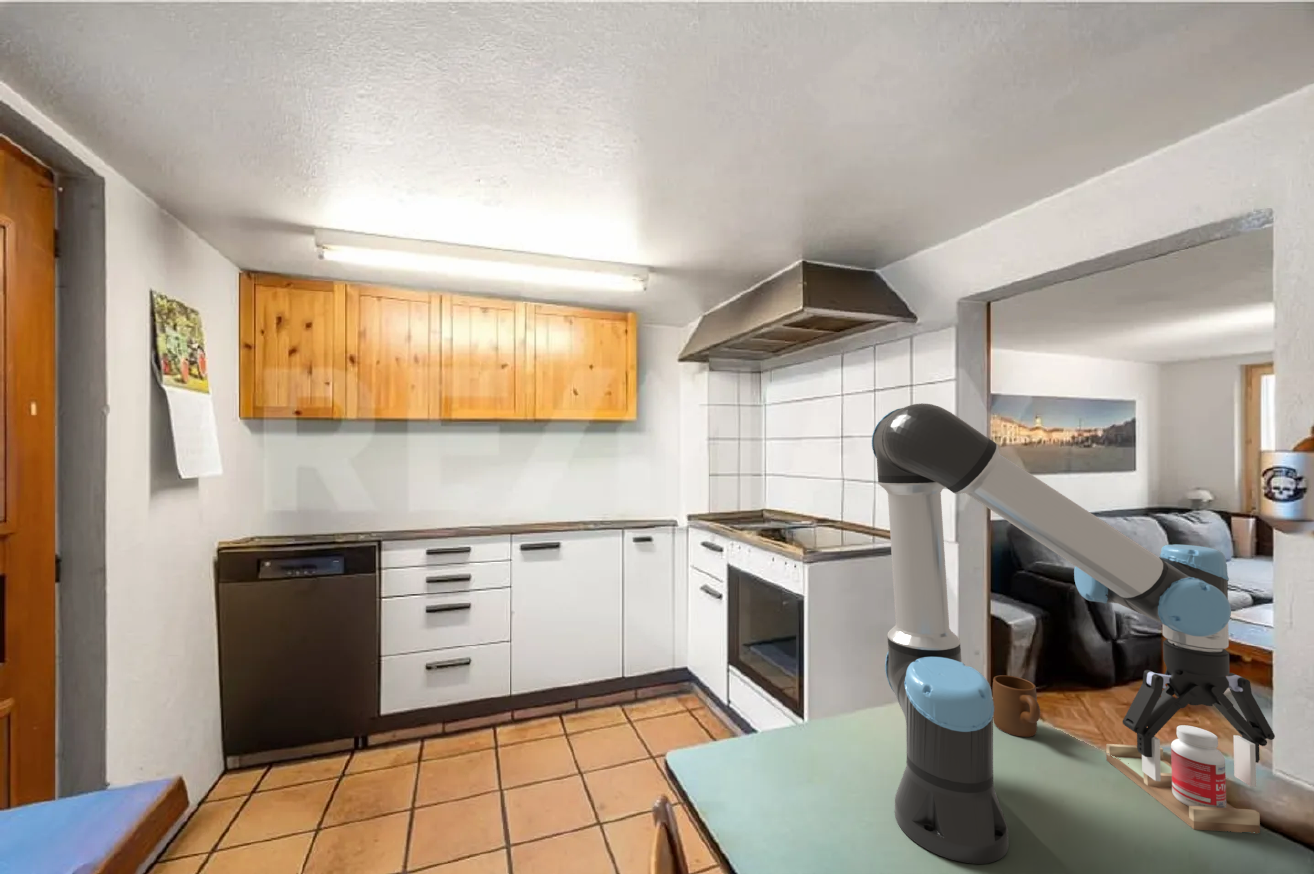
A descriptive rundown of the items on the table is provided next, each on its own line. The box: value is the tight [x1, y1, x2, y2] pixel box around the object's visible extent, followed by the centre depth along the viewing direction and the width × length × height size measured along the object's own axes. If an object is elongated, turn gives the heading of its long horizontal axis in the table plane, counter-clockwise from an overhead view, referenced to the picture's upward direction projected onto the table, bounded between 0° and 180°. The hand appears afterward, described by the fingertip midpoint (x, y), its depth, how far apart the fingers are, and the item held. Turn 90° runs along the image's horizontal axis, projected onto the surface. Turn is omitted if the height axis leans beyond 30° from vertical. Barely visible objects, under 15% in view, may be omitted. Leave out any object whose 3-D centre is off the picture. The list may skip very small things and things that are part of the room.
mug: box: [992, 674, 1041, 738], centre depth 110 cm, size 12×8×9 cm, turn 174°
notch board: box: [1105, 743, 1261, 834], centre depth 91 cm, size 9×18×3 cm, turn 174°
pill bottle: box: [1170, 724, 1227, 808], centre depth 87 cm, size 6×6×11 cm
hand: (1197, 779), depth 87 cm, fingers open, 13 cm apart
